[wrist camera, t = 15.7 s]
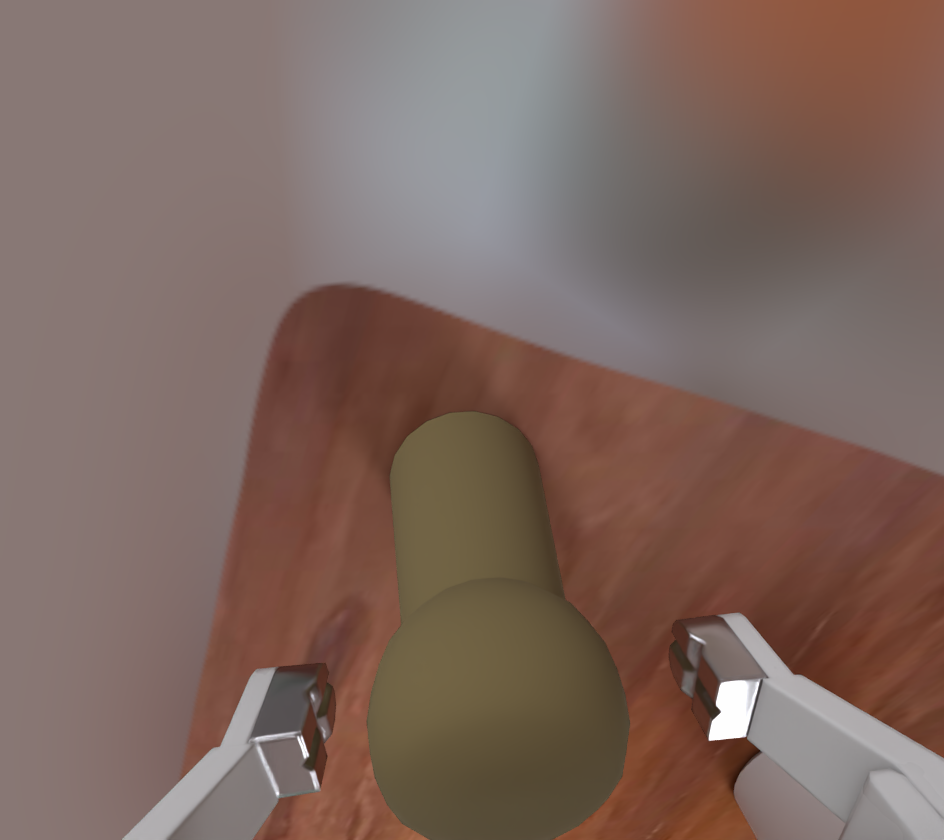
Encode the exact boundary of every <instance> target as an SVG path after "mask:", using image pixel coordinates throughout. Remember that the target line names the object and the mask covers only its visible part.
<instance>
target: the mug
mask: <svg viewBox="0 0 944 840" xmlns="http://www.w3.org/2000/svg"><path fill="white" fill-rule="evenodd" d="M734 797H735V800H736V802H737V804H738V805H739V807H740V809H741V811H742V813H743V815H744V816H745V818H746V820H747V822H748V824H749V826H750V827H751V829H752V831H753V833H754V835H755V837H756V838H757V840H838V839H839V837H840V835H841V833H842V831H843V828H844V826H845V823H844V822H843V821H842V820H840V819H839V818H838V817H837V816H836V815H835V814H833V813H832V812H831V811H830V810H829V809H828V808H826V807H825V806H824V805H823V804H822V803H821V802H820V801H818V800H817V799H816V798H815V797H814V796H813V795H811V794H810V793H809V792H808V791H807V790H806V789H804V788H803V787H802V786H801V785H800V784H799V783H797V782H796V781H795V780H794V779H793V778H792V777H791V776H789V775H788V774H787V773H786V772H785V771H784V770H782V769H781V768H780V767H779V766H778V765H777V764H775V763H774V762H773V761H772V760H771V759H770V758H768V757H767V756H766V755H765V754H764V753H763V752H761V751H760V752H759V753H757V754H756V755H755V756H753V757H752V758H751V759H750V760H749V761H748V762H747V763H746V765H745V766H744V767H743V769H742V770H741V772H740V774H739V776H738V778H737V780H736V783H735V786H734Z"/></svg>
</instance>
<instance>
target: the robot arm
mask: <svg viewBox="0 0 944 840" xmlns="http://www.w3.org/2000/svg"><path fill="white" fill-rule="evenodd" d="M672 633H673V635H674V637H675V639H676V640H675V641H674V642H673V643H672V644H671V645H670V647H669V661H670V667H671V670H672V673H673V676H674V678H675V680H676V682H677V684H678V686H679V688H680V690H681V691H683V692H684V693H685V694H687V695H688V696H689V697H691V698H692V699H693V700H692V708H691V710H692V712H693V714H694V716H695V717H696V719H697V721H698V723H699V725H700V726H701V728H702V730H703V732H704V734H705V735H706V737H707V739H708V741H709V740H719V739H730V738H740V737H748V738H747V739H748V740H749V741H750V742H751V743H752V744H753V745H755V746H756V747H757V748H758V749H759V750H760V751H761V752H763V753H764V754H765V755H766V756H767V757H768V758H770V759H771V760H772V761H773V762H774V763H775V764H777V765H778V766H779V767H780V768H781V769H782V770H784V771H785V772H786V773H787V774H788V775H789V776H791V777H792V778H793V779H794V780H795V781H796V782H797V783H799V784H800V785H801V786H802V787H803V788H804V789H806V790H807V791H808V792H809V793H810V794H811V795H813V796H814V797H815V798H816V799H817V800H818V801H820V802H821V803H822V804H823V805H824V806H825V807H826V808H828V809H829V810H830V811H831V812H832V813H833V814H835V815H836V816H837V817H838V818H839V819H840V820H842V821H843V822H844V823H845V826H844V828H843V831H842V833H841V835H840V837H839V839H838V840H944V758H942V757H941V756H939V755H937V754H935V753H934V752H932V751H930V750H929V749H927V748H925V747H924V746H922V745H920V744H918V743H917V742H915V741H913V740H912V739H910V738H908V737H906V736H905V735H903V734H901V733H900V732H898V731H896V730H895V729H893V728H891V727H889V726H888V725H886V724H884V723H883V722H881V721H879V720H877V719H876V718H874V717H872V716H871V715H869V714H867V713H866V712H864V711H862V710H860V709H859V708H857V707H855V706H854V705H852V704H850V703H848V702H847V701H845V700H843V699H842V698H840V697H838V696H837V695H835V694H833V693H831V692H830V691H828V690H826V689H825V688H823V687H821V686H819V685H818V684H816V683H814V682H813V681H811V680H809V679H808V678H806V677H804V676H802V675H794V674H793V673H792V672H791V671H790V670H789V668H788V667H787V666H786V665H785V664H784V662H783V661H782V660H781V659H780V658H779V657H778V655H777V654H776V653H775V652H774V651H773V649H772V648H771V647H770V646H769V645H768V643H767V642H766V641H765V640H764V639H763V637H762V636H761V635H760V634H759V633H758V631H757V630H756V629H755V628H754V627H753V625H752V624H751V623H750V622H749V621H748V619H747V618H746V617H745V616H744V615H742V614H741V613H731V614H723V615H717V616H716V615H711V616H703V617H696V618H688V619H681V620H676V621H675V622H674V623H673V627H672ZM328 675H329V671H328V668H327V665H326V663H315V664H304V665H292V666H281V667H272V668H263V669H256V670H255V672H254V673H253V674H252V675H251V677H250V678H249V681H248V683H247V685H246V688H245V690H244V692H243V695H242V697H241V699H240V702H239V704H238V706H237V709H236V711H235V713H234V716H233V718H232V720H231V723H230V725H229V727H228V730H227V732H226V734H225V737H224V739H223V741H222V744H221V746H220V747H216V748H212V749H211V750H210V751H209V752H208V753H207V754H206V755H205V756H204V757H203V758H202V759H201V760H200V761H199V762H198V763H197V764H196V765H195V766H194V767H193V768H192V769H191V770H190V771H189V772H188V773H187V774H186V775H185V776H184V778H183V779H182V780H181V781H180V782H179V783H178V784H177V785H176V786H175V787H174V788H173V789H172V790H171V791H170V792H169V793H168V794H167V795H166V796H165V797H164V798H163V799H162V800H161V801H160V802H159V803H158V804H157V805H156V806H155V807H154V808H153V809H152V810H151V811H150V812H149V813H148V814H147V815H146V816H145V817H144V818H143V819H142V820H141V821H140V822H139V823H138V824H137V825H136V826H135V827H134V828H133V829H132V830H131V831H130V832H129V833H128V834H127V835H126V836H125V837H124V838H123V839H122V840H252V839H253V838H254V836H255V835H256V833H257V832H258V830H259V829H260V828H261V826H262V825H263V823H264V822H265V820H266V819H267V817H268V816H269V814H270V813H271V811H272V810H273V809H274V807H275V806H276V804H277V803H278V798H283V797H289V796H295V795H301V794H307V793H313V792H319V791H320V789H321V784H322V779H323V775H324V770H325V765H326V761H327V753H326V749H325V746H324V743H325V742H326V741H327V740H328V738H329V737H330V736H331V735H332V732H333V727H334V722H335V712H336V699H335V692H334V688H333V686H332V685H330V684H329V683H327V679H328Z"/></svg>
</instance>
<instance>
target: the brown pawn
mask: <svg viewBox="0 0 944 840" xmlns="http://www.w3.org/2000/svg"><path fill="white" fill-rule="evenodd" d="M390 488H391V501H392V513H393V526H394V539H395V552H396V565H397V578H398V590H399V603H400V616H401V626H400V628H399V629H398V630H397V631H396V633H395V634H394V635H393V636H392V638H391V639H390V640H389V642H388V645H387V647H386V649H385V652H384V654H383V657H382V659H381V661H380V664H379V667H378V670H377V674H376V677H375V681H374V684H373V688H372V691H371V697H370V703H369V710H368V716H367V729H368V739H369V748H370V755H371V760H372V766H373V771H374V776H375V779H376V781H377V784H378V786H379V788H380V790H381V792H382V795H383V797H384V799H385V801H386V804H387V805H388V806H389V808H390V809H391V810H392V811H393V813H394V814H395V815H396V816H397V818H398V819H399V820H400V822H401V823H402V824H404V825H405V826H407V827H409V828H411V829H412V830H414V831H416V832H417V833H419V834H421V835H423V836H424V837H426V838H428V839H430V840H552V839H554V838H556V837H558V836H560V835H562V834H564V833H566V832H568V831H570V830H572V829H574V828H575V827H577V826H579V825H580V824H581V823H582V822H583V821H585V820H586V819H587V818H588V817H589V816H591V815H592V814H593V813H594V812H595V811H596V810H598V809H599V808H600V806H601V805H602V804H603V803H604V802H605V801H606V800H607V799H608V798H609V796H610V795H611V793H612V791H613V790H614V788H615V787H616V785H617V784H618V782H619V781H620V779H621V777H622V774H623V768H624V762H625V756H626V749H627V742H628V735H629V728H630V719H629V714H628V708H627V702H626V696H625V692H624V689H623V686H622V683H621V680H620V677H619V674H618V671H617V668H616V666H615V663H614V661H613V659H612V657H611V655H610V652H609V650H608V648H607V646H606V644H605V642H604V641H603V639H602V638H601V637H600V635H599V634H598V633H597V632H596V630H595V629H594V628H593V627H592V625H591V624H590V623H589V622H588V621H587V620H586V619H585V617H584V616H583V615H582V614H581V613H580V612H579V611H578V610H577V609H576V608H575V607H574V606H573V605H572V604H571V603H570V602H569V601H566V600H565V595H564V590H563V585H562V580H561V575H560V570H559V565H558V560H557V555H556V550H555V545H554V540H553V535H552V530H551V525H550V520H549V515H548V510H547V505H546V500H545V495H544V490H543V485H542V480H541V475H540V470H539V465H538V462H537V459H536V456H535V453H534V450H533V447H532V445H531V444H530V443H529V442H528V440H527V439H526V438H525V437H524V436H523V434H522V433H521V432H520V431H519V429H517V428H516V427H514V426H512V425H511V424H509V423H507V422H506V421H504V420H503V419H501V418H499V417H496V416H492V415H488V414H484V413H480V412H476V411H472V412H455V413H448V414H445V415H443V416H440V417H437V418H435V419H432V420H429V421H426V422H425V423H424V424H423V425H421V426H420V427H419V428H417V429H416V430H415V431H413V432H412V433H411V434H410V435H408V436H407V438H406V439H405V441H404V442H403V444H402V445H401V446H400V448H399V449H398V451H397V452H396V454H395V456H394V460H393V464H392V468H391V472H390Z"/></svg>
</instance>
